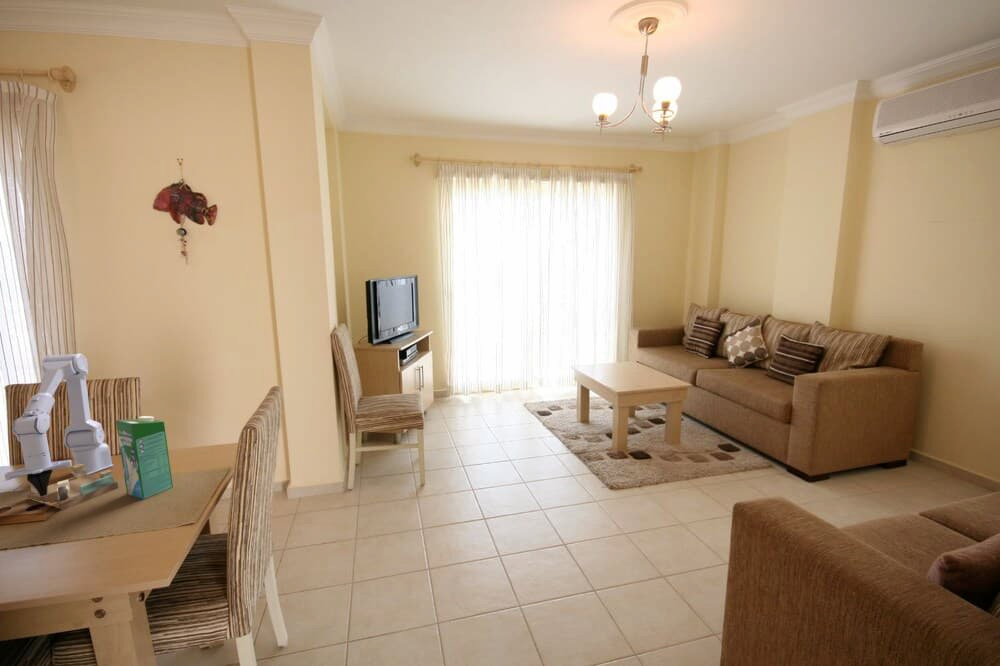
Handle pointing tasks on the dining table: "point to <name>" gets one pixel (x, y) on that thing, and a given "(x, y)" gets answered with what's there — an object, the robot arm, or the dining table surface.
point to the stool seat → (78, 487)
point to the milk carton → (144, 456)
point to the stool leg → (63, 490)
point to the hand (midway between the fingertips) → (43, 494)
